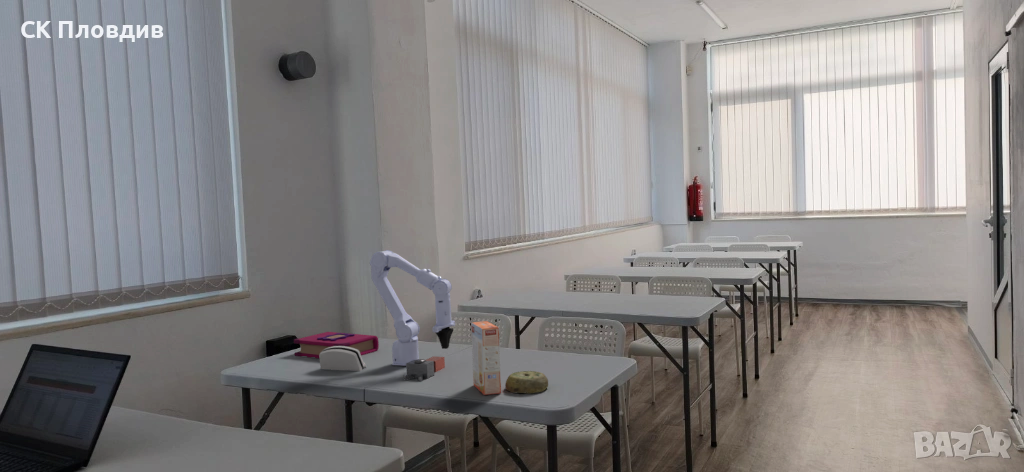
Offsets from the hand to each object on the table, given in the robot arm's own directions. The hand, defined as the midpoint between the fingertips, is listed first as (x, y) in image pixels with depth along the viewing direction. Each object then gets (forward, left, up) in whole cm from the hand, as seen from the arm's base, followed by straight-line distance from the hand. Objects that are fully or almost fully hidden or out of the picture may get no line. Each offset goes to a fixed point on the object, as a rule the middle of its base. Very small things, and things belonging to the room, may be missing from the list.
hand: (445, 348), depth 260 cm
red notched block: (0, -9, -6) cm, 10 cm away
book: (-55, +9, -7) cm, 56 cm away
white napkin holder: (-35, -16, -6) cm, 39 cm away
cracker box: (+30, -30, -6) cm, 42 cm away
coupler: (0, -15, -6) cm, 16 cm away
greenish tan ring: (+42, -26, -6) cm, 49 cm away
